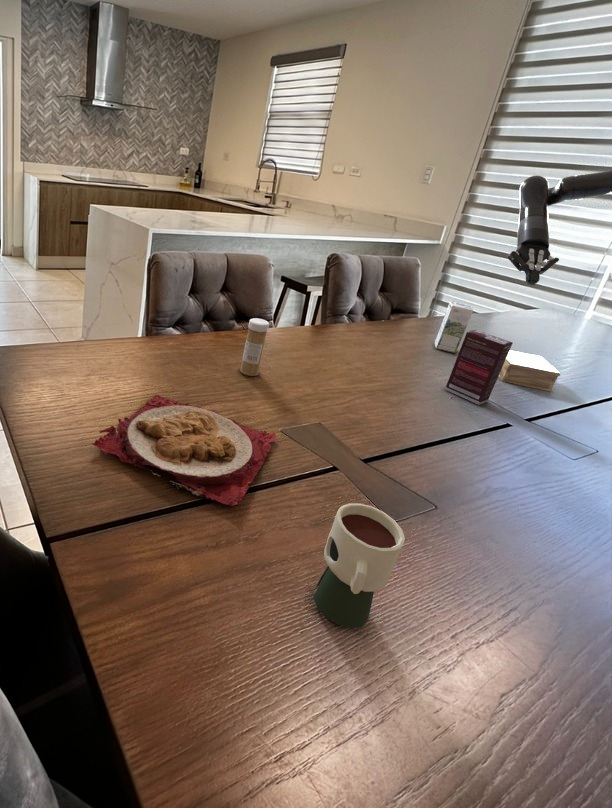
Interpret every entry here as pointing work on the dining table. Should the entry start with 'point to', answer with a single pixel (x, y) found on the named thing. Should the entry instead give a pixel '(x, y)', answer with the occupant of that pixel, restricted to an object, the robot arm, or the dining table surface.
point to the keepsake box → (527, 377)
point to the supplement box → (478, 366)
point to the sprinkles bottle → (254, 346)
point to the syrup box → (453, 327)
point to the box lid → (530, 363)
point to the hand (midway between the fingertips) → (532, 283)
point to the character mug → (357, 563)
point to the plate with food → (191, 448)
